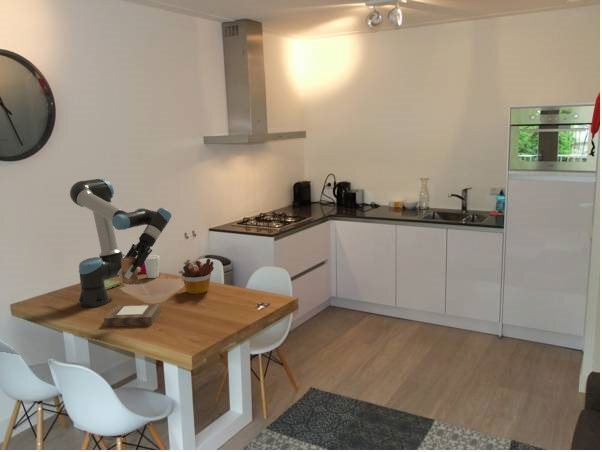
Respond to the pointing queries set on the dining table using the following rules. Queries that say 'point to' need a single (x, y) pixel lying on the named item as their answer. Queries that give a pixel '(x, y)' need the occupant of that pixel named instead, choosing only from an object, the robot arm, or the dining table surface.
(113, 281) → the washcloth
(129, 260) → the cherry block
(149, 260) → the foam cup
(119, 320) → the tray
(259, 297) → the dining table surface
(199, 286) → the bucket of meat
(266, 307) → the dining table surface
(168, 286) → the dining table surface
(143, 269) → the pepper mill
